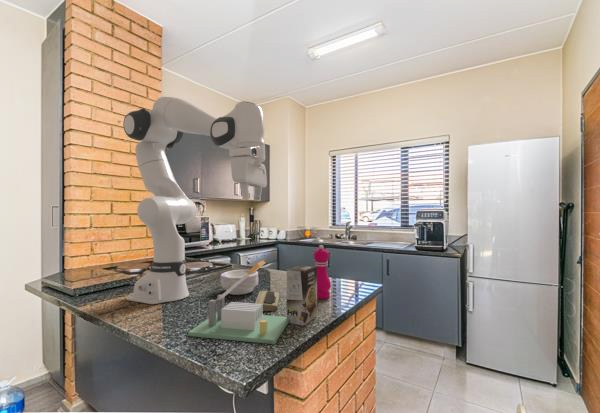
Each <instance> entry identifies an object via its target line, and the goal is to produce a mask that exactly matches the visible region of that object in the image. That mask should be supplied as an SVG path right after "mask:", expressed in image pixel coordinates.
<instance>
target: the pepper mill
mask: <svg viewBox="0 0 600 413" xmlns="http://www.w3.org/2000/svg"><path fill="white" fill-rule="evenodd" d="M329 258H330V254H329V251H328V250H327V249H325V248H324V245H322V244H320V245H318V248H317V249H316V250H315V251H314V252H313V259H314V260H315V261H314V263H315V264H314V266H316V267H317V300H318V299H320V300H326V299H329V298H330V297H331V296H330V294H331V293H330V291H329V290H331V287H332V283H331V280H330V277H329V275H328V271H327V270H328V265H329V264H328V263H329V261H328V260H329Z"/></svg>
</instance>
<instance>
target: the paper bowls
mask: <svg viewBox="0 0 600 413" xmlns="http://www.w3.org/2000/svg"><path fill="white" fill-rule="evenodd" d="M249 270H250V269H234V270H229V271H225V272H222V273H221V274H220V287H221V288H222V289H225V292H226V291H227V290H228V289H229V288H230V287H232V286H233V285H234V284H235V283H236V282H237V281H239V280H240V279H241V278H242V277H243V276H244V275H246V274H247V272H248V271H249ZM258 284H259V272H258V270H257V271H255V272H254V273H252V274H251V275H250V276H248V277H247V278H246V279H245V280H244V281H243V282H241V283H240V284H239V285H238V286H237V287H236V288H234V289H233V290H232V291H231V292H230V293H229V294H228V295H233V296H238V295H239V296H241V295H246V294H249V293H251V292H252V291H253V290H254V288H255V287H256V286H257V285H258Z"/></svg>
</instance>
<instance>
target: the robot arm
mask: <svg viewBox="0 0 600 413" xmlns="http://www.w3.org/2000/svg"><path fill="white" fill-rule="evenodd" d="M122 122H123V131H124V133H125V134H126V136H127V138H128V137H129V138H130V139H131V140H135V141H139V142H137V144H136V145H135V157H136V158H135V159H136V164H137V167H138V170H139V173H140V176H141V179H142V182H143V186H144V187H145V189H146V190H147V191H149V192H150V193H151V194H153V196H149V197H146V198H143V199H142V200H141V201H140V202H139V203H138V205H137V209H136V212H137V216H138V219H139V220H140V222H141V223H143V224H144V225H145V226H146V227H147V229H148V230H149V232H150V236H151V238H152V244H153V245H152V246H153V261H152V262H150V263H147V264H146V265H147V266H146V267H148V268H149V271H148V272H146V273H145V274H144V275H143V276H141V277H140V278H139V279H138V280H136V282H135V283H134V287H133V292H132V293H130V294H128V295H127V296H126V301H129V302H130V301H131V302H137V303H138V302H139V303H144V304H149V305H157V304H161V303H169V302H176V301H180V300H182V299H184V298H188V297H189V296H190V293H189V292H190V291H189V289H188V285H187V284H188V283H187V280H186V279H187V278H186V273H187V260H186V259H185V258H186V256H185V255H186V254H185V253H186V250H185V247H186V246H185V245H186V244H185V243H186V242H185V239H184V237H183V236H181V235H180V234H179V232H178V229H177V226H176V225H183V224H187V223H189V222H192V221H193V220H195V218H196V216H197V214H198V213H197V212H198V208H197V205H196V204H195V202H193V200H191V199H190V198H188V196H187V195H186V194H185V192H184V190H183V189H181V187H180V185H179V184H178V182H177V180H176V179H175V176H174V173H173V171H172V169H171V166H170V163H169V160H168V158H167V157H168V156H167V155H166V148H168V149H172V148H173V147H174V146H175V145H176V144H178V143H179V142H180V141H181V140H182V139H183V137H184V133H186V134H194V135H199V136H201V135H202V136H206V137H207V136H209V137H210V139H211V141H212V143H213V145H215V146H217V147H219V148H222V149H225V150H229V157H230V158H231V159H230V169H231V178H232V181H233V183H234V184H239V189H240V192H241V194H242V196H241V197H242V200H244V201H245V200H246V201H247V200H251V194H250V191H249V187H253V188H254V195H253V200H254V201H255V202H260V201H261V200H262V193H263V192H262V191H263V188H267V185H268V179H267V178H268V177H267V170H266V166H265V164H263V162H265V161H266V145H265V141H264V135H265V119H264V112H263V110H262V107H261V106H259V105H258V104H256V103H254V102H250V101H239V102H237V103H236V104H235V106H234V108H233V109H232V110H231V111H230V112H228V113H227V114H225V115H224V116H220V117H217V118H216V117H214V116H213V115H212V114H209V113H208V112H206V111H204V110H203V109H201V108H199V107H198V106H196V105H194V104H192V103H191V102H189V101H187V100H185V99H182V98H178V97H172V96H161V97H158V98H157V99H156V100H155V101H154V103H153V105H152V108H151V109H150V110H147V109H146V108H144V107H143V108H140V109H139V110H133V111H130V112H128V113H127V114H126V115H125V116H124V119H123V121H122Z"/></svg>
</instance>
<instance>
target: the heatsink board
mask: <svg viewBox="0 0 600 413" xmlns="http://www.w3.org/2000/svg"><path fill="white" fill-rule="evenodd" d="M221 295H222V294H218V295H216V296H217V298H219V297H220V296H221ZM225 297H226V296H225ZM225 297H224V298H223V299H222V300H221V301H220V302H219V303H217V304H216V299H217V298H216V299H209V300H208V317H207V318H206V319H205V320H204V321H202V322H201V323H199V324H198V325H197V326H195V327H194V328H192V329H190V330H189V331H188V334H187V335H188V336H189V337H197V338H208V339H215V340H217V339H218V340H226V341H227V340H229V341H238V342H247V343H249V342H250V343H259V344H268V345H275V344H276V343H277V341H278V340H279V338H280V336H281V335H282V334H283V332H284V330H285V329H286V327H288V326H287V325H288V324H289V319H287V316H279V315H269V314H268V315H267V314H264V313H263V312H264V311H263V304H255V303H254V302H253V303H250V302H238V301H237V302H236V301H235V302H234V301H230V302H229V303H227V304H226V305H225V303H226V302H225Z"/></svg>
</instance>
